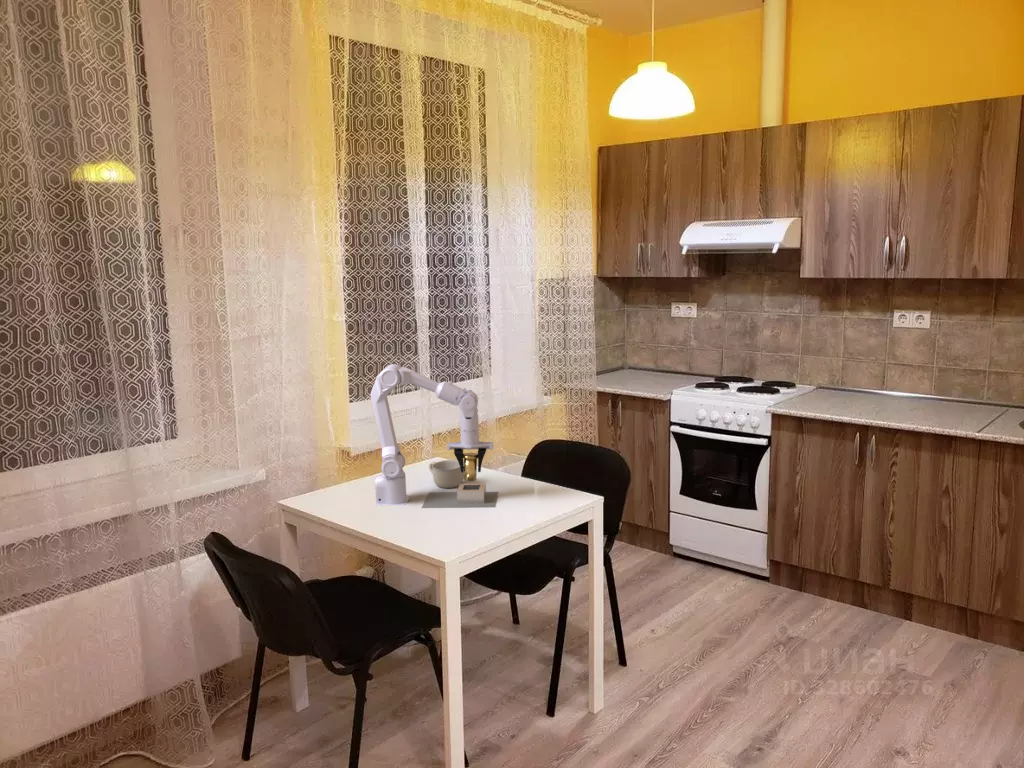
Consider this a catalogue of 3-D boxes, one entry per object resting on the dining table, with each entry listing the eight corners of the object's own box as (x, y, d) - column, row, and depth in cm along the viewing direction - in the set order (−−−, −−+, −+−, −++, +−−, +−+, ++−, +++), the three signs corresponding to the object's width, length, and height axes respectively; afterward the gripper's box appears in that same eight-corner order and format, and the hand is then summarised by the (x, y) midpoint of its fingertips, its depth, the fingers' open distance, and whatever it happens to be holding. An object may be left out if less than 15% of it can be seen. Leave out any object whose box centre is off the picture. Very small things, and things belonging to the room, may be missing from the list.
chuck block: (457, 503, 240) (456, 491, 239) (460, 495, 248) (459, 483, 248) (484, 503, 240) (483, 491, 239) (486, 495, 248) (485, 483, 247)
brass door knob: (461, 481, 240) (461, 456, 239) (463, 476, 245) (463, 452, 244) (477, 481, 240) (477, 457, 239) (478, 477, 245) (479, 453, 244)
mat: (421, 509, 237) (421, 507, 237) (429, 493, 253) (428, 492, 252) (495, 508, 236) (495, 507, 236) (498, 492, 252) (498, 491, 251)
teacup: (470, 486, 259) (470, 463, 258) (444, 493, 253) (443, 470, 251) (447, 478, 270) (446, 456, 269) (421, 484, 263) (420, 462, 262)
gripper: (445, 432, 237) (446, 475, 239) (491, 432, 236) (492, 474, 238) (447, 427, 243) (449, 469, 246) (493, 427, 243) (494, 468, 245)
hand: (471, 471), depth 242 cm, fingers closed on brass door knob, 5 cm apart
